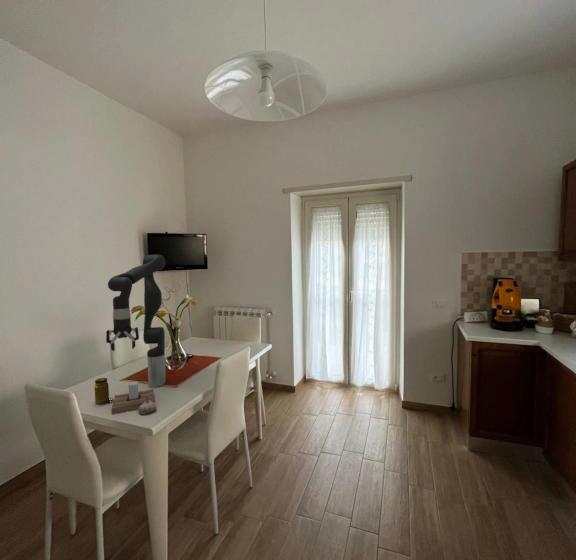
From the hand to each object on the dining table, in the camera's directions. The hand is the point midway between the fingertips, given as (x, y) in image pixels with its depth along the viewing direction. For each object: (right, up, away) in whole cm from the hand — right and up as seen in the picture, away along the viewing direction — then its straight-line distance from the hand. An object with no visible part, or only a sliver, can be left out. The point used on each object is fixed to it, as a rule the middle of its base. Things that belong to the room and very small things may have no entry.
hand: (123, 349), depth 154 cm
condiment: (-12, -28, +3) cm, 30 cm away
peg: (+5, -27, +1) cm, 27 cm away
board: (+5, -27, +1) cm, 28 cm away
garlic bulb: (+15, -28, -8) cm, 33 cm away
